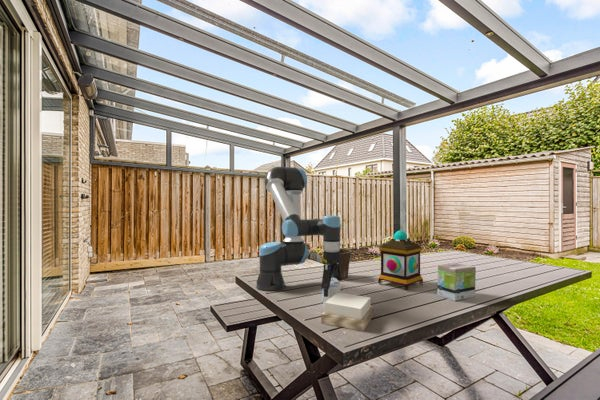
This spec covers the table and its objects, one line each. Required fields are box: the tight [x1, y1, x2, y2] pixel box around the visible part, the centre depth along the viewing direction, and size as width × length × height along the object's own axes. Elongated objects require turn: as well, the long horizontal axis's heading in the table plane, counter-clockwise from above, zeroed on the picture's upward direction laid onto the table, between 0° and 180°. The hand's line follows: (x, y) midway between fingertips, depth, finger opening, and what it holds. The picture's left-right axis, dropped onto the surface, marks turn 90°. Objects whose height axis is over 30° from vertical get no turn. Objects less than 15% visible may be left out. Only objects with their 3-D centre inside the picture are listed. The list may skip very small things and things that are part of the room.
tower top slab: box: [324, 292, 372, 320], centre depth 117 cm, size 14×14×4 cm
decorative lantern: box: [377, 230, 424, 292], centre depth 165 cm, size 20×20×30 cm
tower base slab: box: [320, 306, 374, 332], centre depth 117 cm, size 16×16×4 cm
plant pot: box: [331, 248, 352, 280], centre depth 181 cm, size 16×16×16 cm
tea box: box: [436, 263, 477, 302], centre depth 145 cm, size 15×10×15 cm
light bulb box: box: [321, 278, 341, 308], centre depth 133 cm, size 11×7×11 cm, turn 4°
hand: (331, 299), depth 133 cm, fingers closed on light bulb box, 12 cm apart
